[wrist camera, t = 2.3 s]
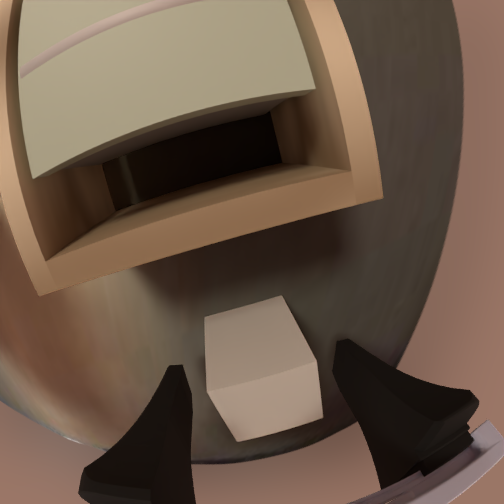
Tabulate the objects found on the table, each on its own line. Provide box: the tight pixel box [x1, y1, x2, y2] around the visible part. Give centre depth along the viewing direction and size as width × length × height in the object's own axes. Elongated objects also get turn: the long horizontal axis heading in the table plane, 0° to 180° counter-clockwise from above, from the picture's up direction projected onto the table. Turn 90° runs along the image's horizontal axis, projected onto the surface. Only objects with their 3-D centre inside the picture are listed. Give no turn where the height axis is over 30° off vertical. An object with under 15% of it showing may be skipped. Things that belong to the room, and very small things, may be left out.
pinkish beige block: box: [205, 295, 323, 442], centre depth 12 cm, size 4×4×6 cm
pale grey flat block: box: [18, 0, 316, 179], centre depth 5 cm, size 9×7×4 cm
